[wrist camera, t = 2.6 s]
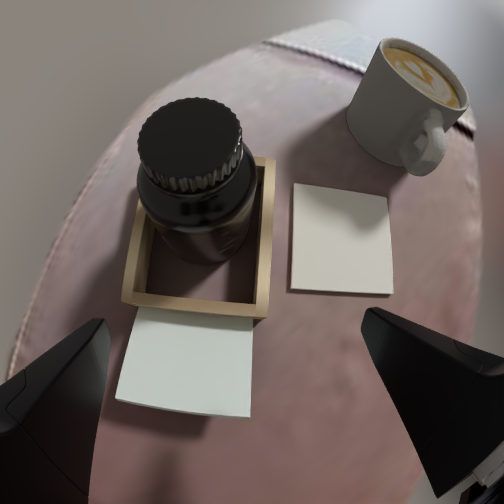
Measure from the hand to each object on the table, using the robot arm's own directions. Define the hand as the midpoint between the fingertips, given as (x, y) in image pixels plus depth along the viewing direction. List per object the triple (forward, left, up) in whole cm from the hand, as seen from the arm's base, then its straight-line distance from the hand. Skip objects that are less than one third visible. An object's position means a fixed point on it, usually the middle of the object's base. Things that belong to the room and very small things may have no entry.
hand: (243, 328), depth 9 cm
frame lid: (-2, +3, -13) cm, 13 cm away
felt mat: (+8, -8, -13) cm, 17 cm away
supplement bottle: (+8, +3, -13) cm, 15 cm away
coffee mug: (+20, -14, -13) cm, 28 cm away
